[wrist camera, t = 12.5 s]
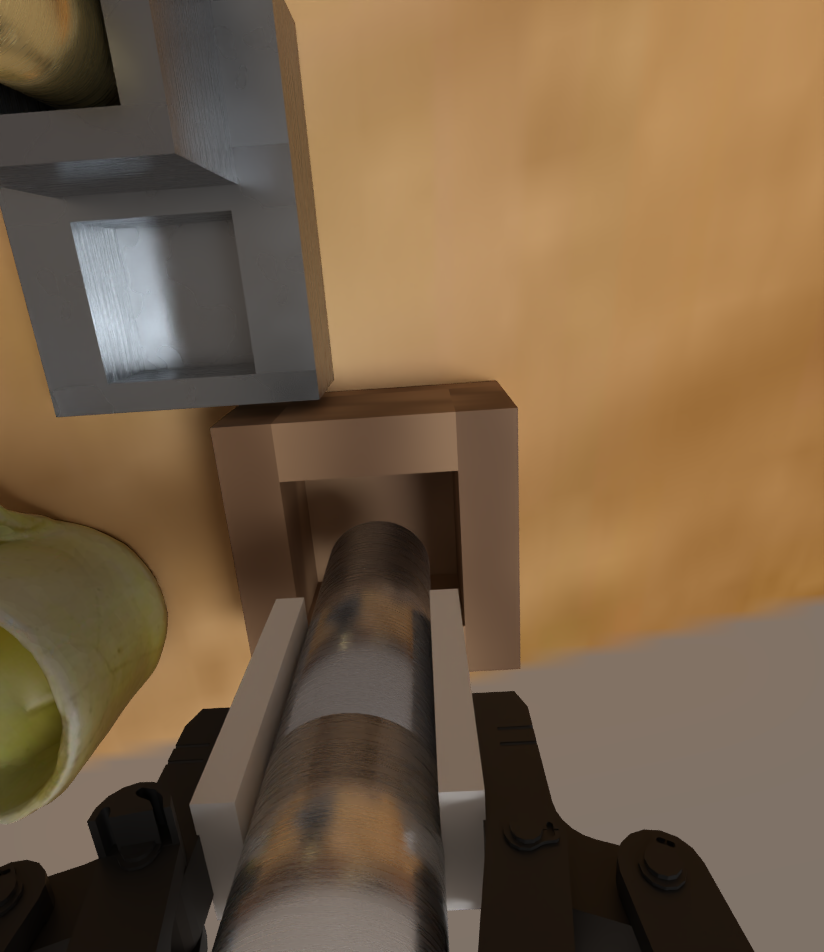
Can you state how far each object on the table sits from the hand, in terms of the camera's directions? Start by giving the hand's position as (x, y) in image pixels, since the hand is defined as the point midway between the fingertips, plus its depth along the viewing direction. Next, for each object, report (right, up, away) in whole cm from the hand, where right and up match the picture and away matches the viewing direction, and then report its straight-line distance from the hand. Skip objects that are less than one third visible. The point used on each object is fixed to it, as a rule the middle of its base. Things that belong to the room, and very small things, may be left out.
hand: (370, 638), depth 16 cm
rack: (0, +3, +9) cm, 10 cm away
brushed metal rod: (0, +1, +4) cm, 4 cm away
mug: (-15, 0, +11) cm, 18 cm away
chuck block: (-7, +14, +6) cm, 16 cm away
